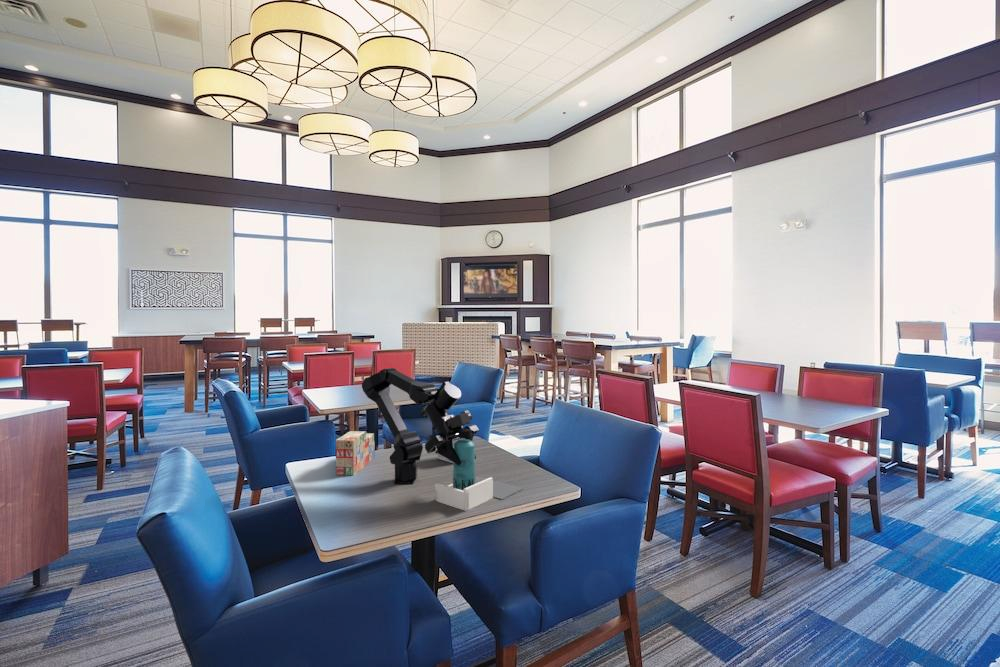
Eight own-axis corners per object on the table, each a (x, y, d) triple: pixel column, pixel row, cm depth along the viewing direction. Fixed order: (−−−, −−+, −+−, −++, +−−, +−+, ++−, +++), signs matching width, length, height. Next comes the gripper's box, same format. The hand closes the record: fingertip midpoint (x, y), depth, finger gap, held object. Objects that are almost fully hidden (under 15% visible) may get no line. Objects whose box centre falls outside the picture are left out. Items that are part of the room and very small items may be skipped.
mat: (456, 486, 149) (456, 485, 149) (478, 477, 158) (478, 476, 158) (502, 499, 138) (502, 498, 138) (523, 489, 147) (523, 488, 147)
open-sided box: (435, 500, 137) (435, 480, 137) (462, 489, 147) (462, 469, 147) (466, 511, 130) (466, 489, 130) (492, 498, 140) (493, 477, 139)
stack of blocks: (358, 457, 180) (358, 425, 180) (374, 457, 180) (374, 425, 179) (335, 475, 159) (335, 439, 159) (353, 476, 159) (353, 439, 158)
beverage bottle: (454, 492, 142) (454, 426, 141) (476, 492, 142) (476, 426, 141) (451, 500, 135) (451, 431, 135) (474, 501, 135) (474, 432, 134)
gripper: (432, 407, 132) (461, 453, 126) (474, 398, 147) (502, 439, 141) (412, 430, 137) (439, 476, 131) (456, 419, 152) (482, 460, 146)
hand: (467, 461), depth 137 cm, fingers closed on beverage bottle, 6 cm apart
